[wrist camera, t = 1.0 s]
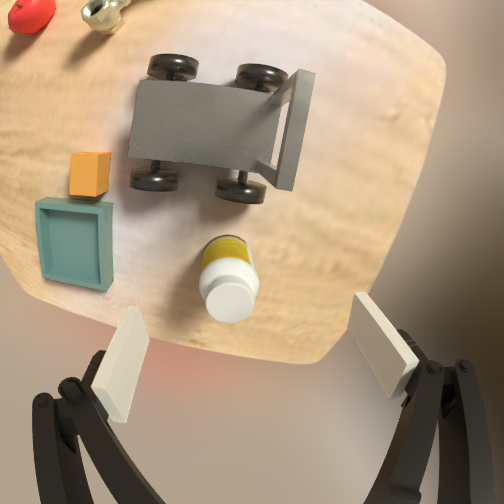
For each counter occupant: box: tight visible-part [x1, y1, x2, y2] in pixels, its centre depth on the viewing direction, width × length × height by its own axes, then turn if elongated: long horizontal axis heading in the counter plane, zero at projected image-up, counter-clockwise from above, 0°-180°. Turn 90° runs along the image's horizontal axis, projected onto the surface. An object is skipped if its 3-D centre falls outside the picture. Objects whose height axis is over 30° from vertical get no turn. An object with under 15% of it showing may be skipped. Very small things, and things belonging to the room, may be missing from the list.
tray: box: [35, 197, 114, 291], centre depth 32 cm, size 12×12×3 cm
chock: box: [69, 152, 111, 197], centre depth 28 cm, size 4×5×4 cm
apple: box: [8, 0, 56, 33], centre depth 14 cm, size 8×8×8 cm
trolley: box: [127, 54, 315, 204], centre depth 22 cm, size 16×15×18 cm
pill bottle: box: [199, 234, 259, 323], centre depth 31 cm, size 6×6×12 cm
